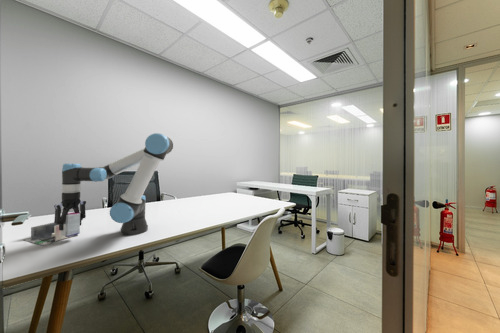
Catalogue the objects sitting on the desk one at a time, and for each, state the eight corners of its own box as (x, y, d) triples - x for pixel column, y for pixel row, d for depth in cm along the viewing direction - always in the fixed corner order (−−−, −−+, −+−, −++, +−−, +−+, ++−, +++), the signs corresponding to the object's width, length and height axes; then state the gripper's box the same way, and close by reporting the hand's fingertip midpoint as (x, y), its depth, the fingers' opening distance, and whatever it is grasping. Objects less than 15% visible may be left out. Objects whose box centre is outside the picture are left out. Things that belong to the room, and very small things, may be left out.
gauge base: (78, 235, 115) (78, 225, 115) (43, 245, 100) (43, 234, 100) (58, 231, 121) (58, 221, 121) (23, 240, 106) (23, 229, 106)
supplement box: (80, 233, 109) (80, 213, 109) (67, 237, 104) (67, 215, 103) (73, 231, 111) (73, 211, 111) (60, 235, 106) (60, 214, 105)
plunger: (73, 235, 113) (73, 222, 113) (42, 244, 100) (42, 229, 100) (64, 233, 115) (64, 220, 115) (33, 242, 103) (33, 227, 103)
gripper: (85, 189, 117) (84, 227, 117) (44, 193, 99) (43, 238, 100) (94, 190, 115) (93, 229, 115) (53, 194, 97) (52, 241, 97)
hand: (70, 233), depth 107 cm, fingers closed on supplement box, 6 cm apart
